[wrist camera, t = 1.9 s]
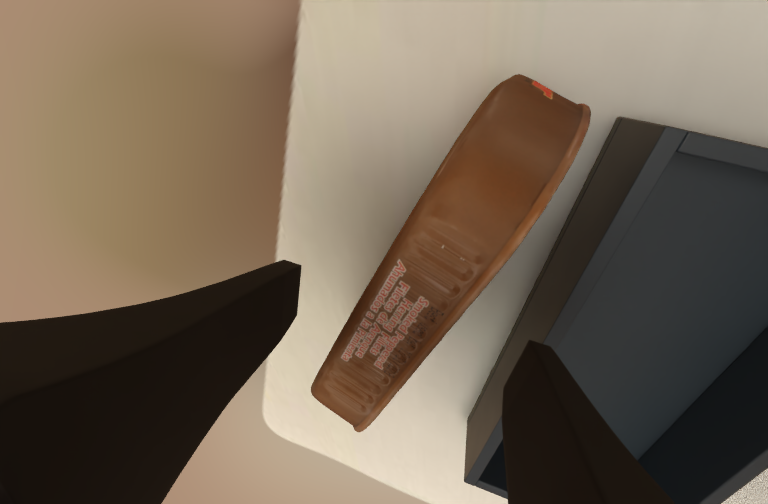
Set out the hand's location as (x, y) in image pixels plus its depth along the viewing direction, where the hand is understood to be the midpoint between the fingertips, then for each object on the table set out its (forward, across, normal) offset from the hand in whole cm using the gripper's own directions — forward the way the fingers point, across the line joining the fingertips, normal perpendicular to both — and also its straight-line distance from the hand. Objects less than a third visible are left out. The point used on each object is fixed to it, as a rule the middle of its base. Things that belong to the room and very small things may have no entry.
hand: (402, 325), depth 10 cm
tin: (+8, 0, 0) cm, 8 cm away
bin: (+8, -10, +2) cm, 13 cm away
